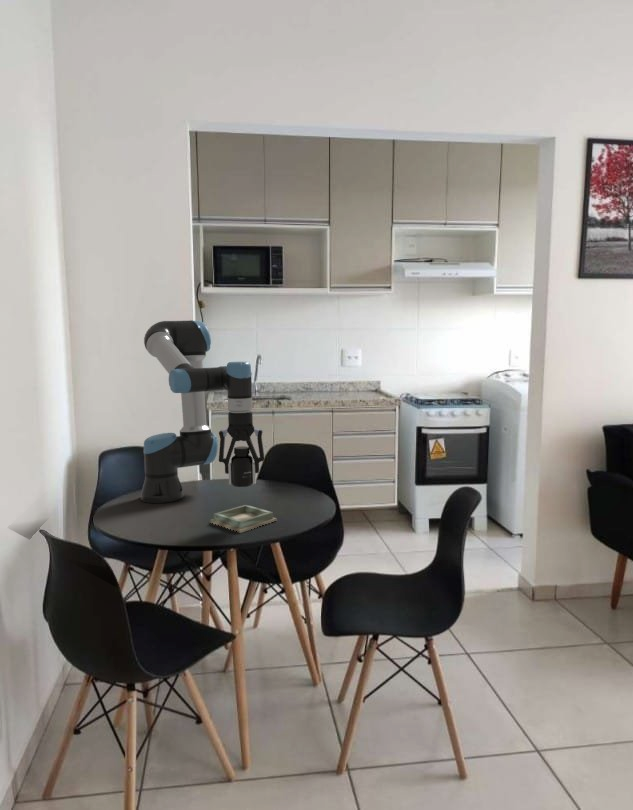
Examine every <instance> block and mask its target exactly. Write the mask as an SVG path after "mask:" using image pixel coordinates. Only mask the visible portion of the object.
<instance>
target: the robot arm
mask: <svg viewBox="0 0 633 810" xmlns="http://www.w3.org/2000/svg"><path fill="white" fill-rule="evenodd" d="M211 339H212V338H211V334H210V331H209V329H208V327H207V325H206V324H205V323H204V322H203V321H200V320H191V319H190V320H163V321H162V320H161V321H159V322H156V323H154V324H152V325H151V326H150V327H149V328H148V329H147V331H146V332H145V334H144V337H143V344H144V347H145V349H146V351H147V353H148V354H149V355H150V356H152V357H154V358H156V360H157V361H158V362H159V364H161V366H162V367H163V368H164V370H165V371H166V372H167V374H168V385H169V389H170V391H171V392H172V393H174V394H180V396H181V410H182V424H183V425H182V427H181V429H180V430H179V435H177V434H176V433H175V432H166V433H165V432H163V433H158V434H153V435H151V436H148V437H146V438H145V440H144V441H143V458H144V459H143V461H144V462H143V463H144V465H143V466H144V482H143V485H142V487H141V488H142V489H141V492H140V500H141V501H142V502H144V503H149V504H164V503H172V502H175V501H179V500H181V499H183V498H184V489H183V486H182V484H181V480H180V478H179V476H178V475H179V472H178V469H180V468H189V467H196V466H204V465H208V464H212V463H213V462H214V461H215V460H216V457H217V455H218V453H219V455H218V462H219V463H223V464H224V473H225V474H227V475H228V485H229V486H230V485H232V479H231V462H230V461H231V458H232V454H233V451H234V448H235V445H236V443H237V442H241V441H242V442H246V444H247V447H249V451H250V453H251V457H252V458H253V463H252V468H253V484H252V485H256V483H257V475H256V474H259V472H260V463H261V462H264V461H265V457H266V456H265V452H264V443H263V437H262V436H263V432H264V431H263V429H262V428H260V429H259V428H255V426H254V419H253V418H254V417H253V412H252V410H253V393H252V392H253V390H252V387H253V386H252V375H253V374H252V373H253V372H252V368H251V367H252V366H251V363H250V362H249V361H230V362H229V361H228V363H227V364H226V365H223V366H222V365H221V366H217V367H214V366H213V367H204V365H203V360H205V358H206V357H207V354H206V353H208V352H210V349H211V345H212V340H211ZM217 391H226V392H227V410H228V411H229V412H228V413H227V417H228V418H227V421H228V422H227V423H228V427H227V428H225V429H220V430H219V432H218V434H219V435H218V436H219V438H220V439H219V441H218V438H217V434H216V433H214V432H213V431H212V428H211V427H210V426H209V425H208V424H207V412H206V411H207V410H206V398H205V396H206V395H205V392H217ZM227 434H228V435H229V436H230V437H231V440H230V441H231V442H230V445H229V448H228V451H227V454H226V456H225V443H226V437H227ZM253 434H255V436H256V437H257V438H256V439H257V444H258V445H257V446H258V452H259V457H258V454H257V451H256V449H255V447H254V444H253V442H252V439H251V437H252V435H253ZM218 442H219V443H218ZM218 449H219V452H218Z"/></svg>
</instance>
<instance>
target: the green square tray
mask: <svg viewBox="0 0 633 810" xmlns="http://www.w3.org/2000/svg"><path fill="white" fill-rule="evenodd" d="M274 521H277V522H278V518H277V517H274V512H273V511H269V510H266V509H263V508H259V507H255V506H253V505H250V504H249V505H248V504H243V505H239V506H236V507H233V508H229V509H224V510H222V511H218V512H215V513H213V518H212V519H210V520H209V522H210V524H212V523H213V524H212V525H215V524H216V525H215V526H218V525H219V526H218V527H221V526H222V527H221V528H224V527H225V528H224V529H227V528H228V529H227V530H230V529H231V530H230V531H233V530H234V531H233V532H236V531H237V532H236V533H239V534H242V533H245V532H248V531H252V530H254V528H255V529H257V527H258V528H260V527H259V526H261V527H263V526H262V525H264V526H266V525H265V524H267V525H269V524H268V523H270V524H272V523H271V522H274ZM274 523H275V522H274ZM251 529H252V530H251Z"/></svg>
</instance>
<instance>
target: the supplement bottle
mask: <svg viewBox="0 0 633 810" xmlns="http://www.w3.org/2000/svg"><path fill="white" fill-rule="evenodd" d="M233 451H234V452H233V454H234V455H233V456H231V457H230V463H231V479H232V484H231V485H232V486H233V487H235V488H246V487H252V485H254V484H253V468H252V463H253V462H254V459H253V457H252V455H250V453H251V452H250V449H249V447H248V446H245V445H244V446H234V448H233Z"/></svg>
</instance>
